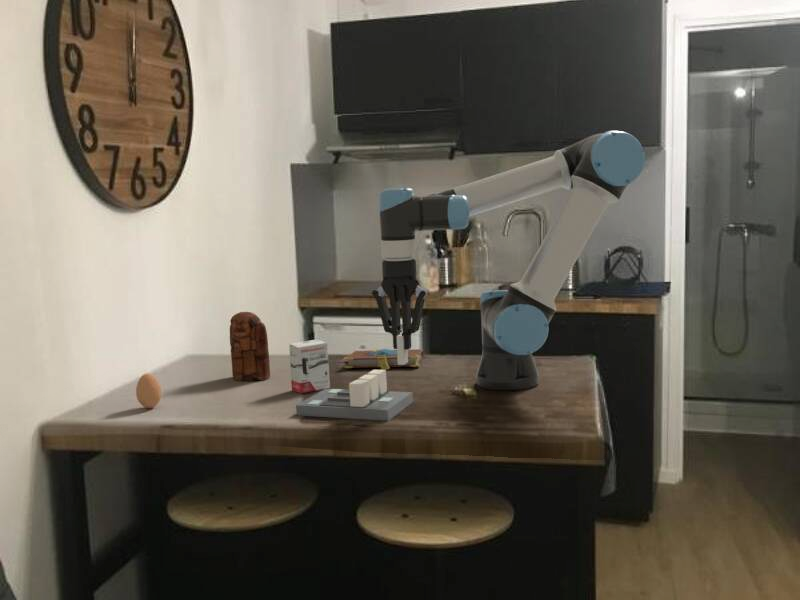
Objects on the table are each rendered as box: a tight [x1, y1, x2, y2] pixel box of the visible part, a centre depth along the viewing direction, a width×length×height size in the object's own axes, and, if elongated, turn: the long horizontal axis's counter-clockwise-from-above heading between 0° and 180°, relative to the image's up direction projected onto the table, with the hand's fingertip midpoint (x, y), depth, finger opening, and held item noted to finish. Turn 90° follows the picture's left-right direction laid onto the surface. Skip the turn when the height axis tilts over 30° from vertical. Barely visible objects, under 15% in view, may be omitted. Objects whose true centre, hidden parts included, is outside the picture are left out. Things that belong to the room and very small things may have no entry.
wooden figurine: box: [229, 311, 271, 382], centre depth 225 cm, size 12×6×18 cm, turn 73°
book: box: [337, 348, 424, 371], centre depth 236 cm, size 16×25×5 cm, turn 82°
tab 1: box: [348, 379, 370, 407], centre depth 184 cm, size 3×4×5 cm
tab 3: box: [367, 369, 388, 394], centre depth 193 cm, size 3×4×5 cm
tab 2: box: [358, 374, 379, 399], centre depth 189 cm, size 3×4×5 cm
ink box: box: [288, 339, 331, 394], centre depth 211 cm, size 8×5×12 cm, turn 123°
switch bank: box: [295, 388, 414, 422], centre depth 191 cm, size 22×15×3 cm
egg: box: [135, 373, 162, 409], centre depth 201 cm, size 6×6×8 cm
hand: (402, 363), depth 190 cm, fingers closed
